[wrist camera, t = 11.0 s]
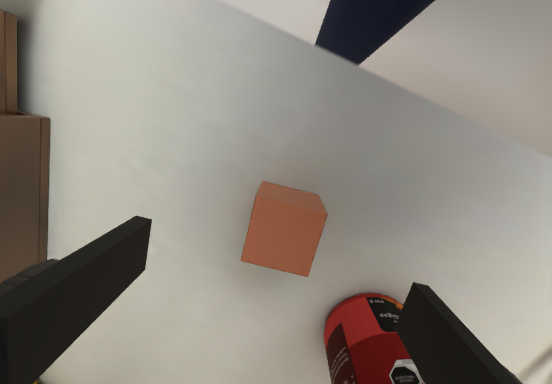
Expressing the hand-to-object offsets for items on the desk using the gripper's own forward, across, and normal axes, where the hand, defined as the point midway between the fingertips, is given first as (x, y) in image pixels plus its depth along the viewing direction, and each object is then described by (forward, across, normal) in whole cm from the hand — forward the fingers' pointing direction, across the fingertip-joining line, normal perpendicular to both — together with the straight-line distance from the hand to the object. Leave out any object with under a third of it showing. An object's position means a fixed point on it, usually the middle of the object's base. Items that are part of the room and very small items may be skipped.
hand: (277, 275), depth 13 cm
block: (+9, 0, 0) cm, 9 cm away
